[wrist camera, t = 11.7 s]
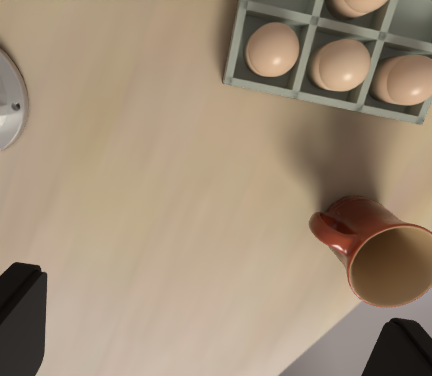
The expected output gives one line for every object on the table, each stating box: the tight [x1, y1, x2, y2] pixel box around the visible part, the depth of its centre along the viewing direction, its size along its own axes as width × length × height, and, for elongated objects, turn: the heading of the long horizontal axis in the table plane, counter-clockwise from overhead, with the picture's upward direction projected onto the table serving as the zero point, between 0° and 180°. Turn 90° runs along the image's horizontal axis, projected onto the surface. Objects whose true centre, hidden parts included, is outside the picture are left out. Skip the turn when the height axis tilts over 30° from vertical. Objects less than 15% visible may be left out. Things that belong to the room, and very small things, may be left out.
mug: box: [309, 196, 432, 307], centre depth 34 cm, size 12×9×10 cm
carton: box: [222, 0, 432, 125], centre depth 29 cm, size 20×14×7 cm
